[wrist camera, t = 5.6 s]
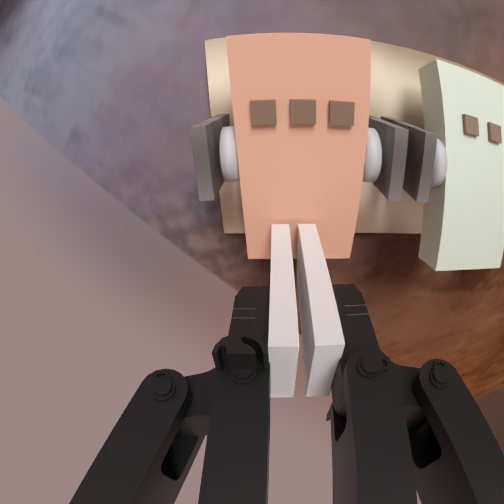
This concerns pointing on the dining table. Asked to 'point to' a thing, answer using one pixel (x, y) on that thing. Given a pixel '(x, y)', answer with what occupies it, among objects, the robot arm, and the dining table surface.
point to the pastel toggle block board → (380, 118)
